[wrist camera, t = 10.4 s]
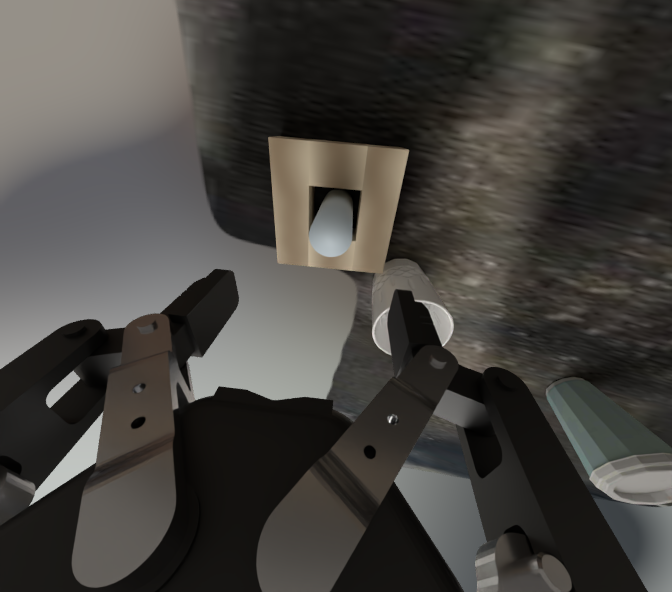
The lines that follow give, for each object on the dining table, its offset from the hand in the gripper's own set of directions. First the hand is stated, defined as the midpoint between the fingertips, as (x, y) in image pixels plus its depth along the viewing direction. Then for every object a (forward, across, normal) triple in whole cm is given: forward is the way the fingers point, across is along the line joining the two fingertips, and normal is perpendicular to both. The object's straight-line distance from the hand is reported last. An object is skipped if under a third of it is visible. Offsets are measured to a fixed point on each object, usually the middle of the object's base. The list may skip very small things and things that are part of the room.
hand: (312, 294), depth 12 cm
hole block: (+18, 0, 0) cm, 18 cm away
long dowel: (+18, 0, 0) cm, 18 cm away
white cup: (+18, -9, +9) cm, 22 cm away
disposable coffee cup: (+19, -43, +27) cm, 54 cm away
